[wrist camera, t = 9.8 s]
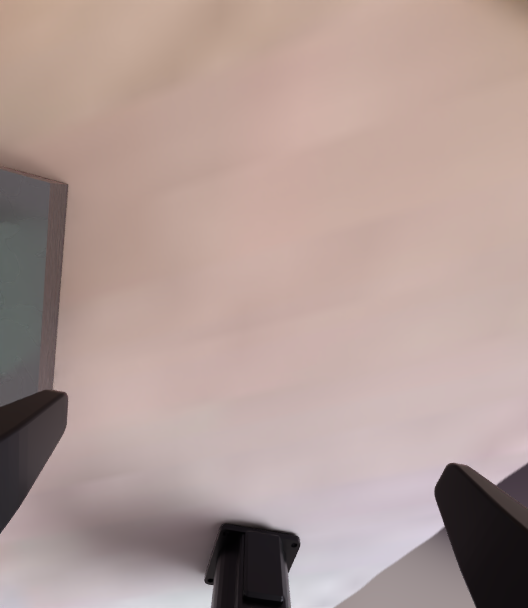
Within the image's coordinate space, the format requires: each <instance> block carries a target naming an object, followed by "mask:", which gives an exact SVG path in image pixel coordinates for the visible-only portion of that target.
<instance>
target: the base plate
mask: <svg viewBox="0 0 528 608" xmlns="http://www.w3.org/2000/svg"><path fill="white" fill-rule="evenodd" d="M67 192H68V184H64V183H61V182H57V181H54V180H50V179H46V178H43V177H39V176H36V175H32V174H28V173H25V172H21V171H18V170H14V169H10V168H7V167H3V166H0V407H1V406H4V405H7V404H9V403H12V402H14V401H17V400H19V399H22V398H25V397H27V396H30V395H32V394H35V393H37V392H40V391H43V390H47V389H49V390H52V389H53V376H54V363H55V350H56V337H57V324H58V310H59V297H60V284H61V271H62V258H63V245H64V231H65V218H66V205H67Z"/></svg>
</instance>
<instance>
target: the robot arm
mask: <svg viewBox="0 0 528 608" xmlns="http://www.w3.org/2000/svg"><path fill="white" fill-rule="evenodd" d="M67 411H68V395H67V394H66V393H65V392H61V391H55V390H49V389H47V390H43V391H40V392H37V393H35V394H32V395H30V396H27V397H25V398H22V399H19V400H17V401H14V402H12V403H9V404H7V405H4V406H1V407H0V534H1V532H2V531H3V529H4V528H5V527H6V525H7V524H8V523H9V521H10V520H11V518H12V517H13V515H14V514H15V513H16V511H17V510H18V508H19V507H20V505H21V504H22V502H23V500H24V499H25V497H26V496H27V494H28V492H29V491H30V489H31V487H32V486H33V484H34V482H35V481H36V479H37V477H38V476H39V474H40V472H41V471H42V469H43V467H44V466H45V464H46V462H47V461H48V459H49V457H50V456H51V454H52V452H53V451H54V449H55V447H56V446H57V444H58V442H59V441H60V439H61V437H62V435H63V433H64V431H65V428H66V425H67ZM435 499H436V502H437V505H438V508H439V511H440V513H441V516H442V519H443V522H444V525H445V528H446V531H447V534H448V537H449V540H450V542H451V545H452V548H453V551H454V554H455V557H456V560H457V562H458V565H459V568H460V571H461V573H462V576H463V578H464V580H465V583H466V585H467V588H468V590H469V592H470V594H471V597H472V599H473V601H474V604H475V606H476V608H528V508H527V507H525V506H524V505H522V504H521V503H520V502H518V501H517V500H515V499H514V498H513V497H511V496H510V495H508V494H507V493H506V492H504V491H503V490H501V489H500V488H498V487H497V486H496V485H494V484H493V483H492V482H490V481H489V480H487V479H486V478H485V477H483V476H482V475H480V474H479V473H478V472H476V471H475V470H473V469H472V468H471V467H469V466H467V465H463V464H457V463H450V464H448V465H447V466H446V468H445V469H444V471H443V473H442V475H441V477H440V479H439V480H438V482H437V484H436V486H435ZM299 548H300V539H299V537H298V536H295V535H289V534H283V533H277V532H271V531H265V530H259V529H253V528H247V527H241V526H235V525H229V524H224V525H222V526H221V527H220V530H219V533H218V536H217V539H216V542H215V545H214V548H213V551H212V555H211V558H210V561H209V564H208V567H207V570H206V573H205V583H206V584H209V585H213V594H212V604H211V608H291V602H290V591H289V580H288V573H289V570H290V568H291V566H292V564H293V561H294V559H295V557H296V554H297V552H298V550H299Z"/></svg>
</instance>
